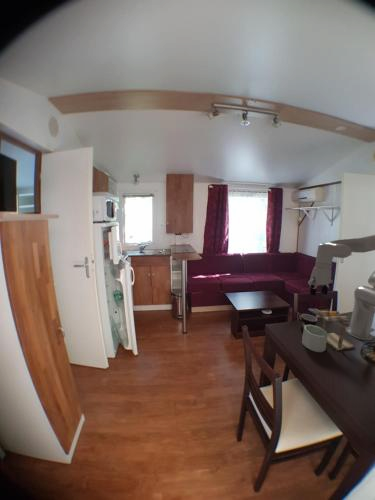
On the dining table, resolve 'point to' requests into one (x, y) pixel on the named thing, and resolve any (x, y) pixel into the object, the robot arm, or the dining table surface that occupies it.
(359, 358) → the dining table surface
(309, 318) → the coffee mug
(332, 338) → the lever stand
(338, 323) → the tipping lever
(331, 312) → the ball
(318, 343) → the cup
